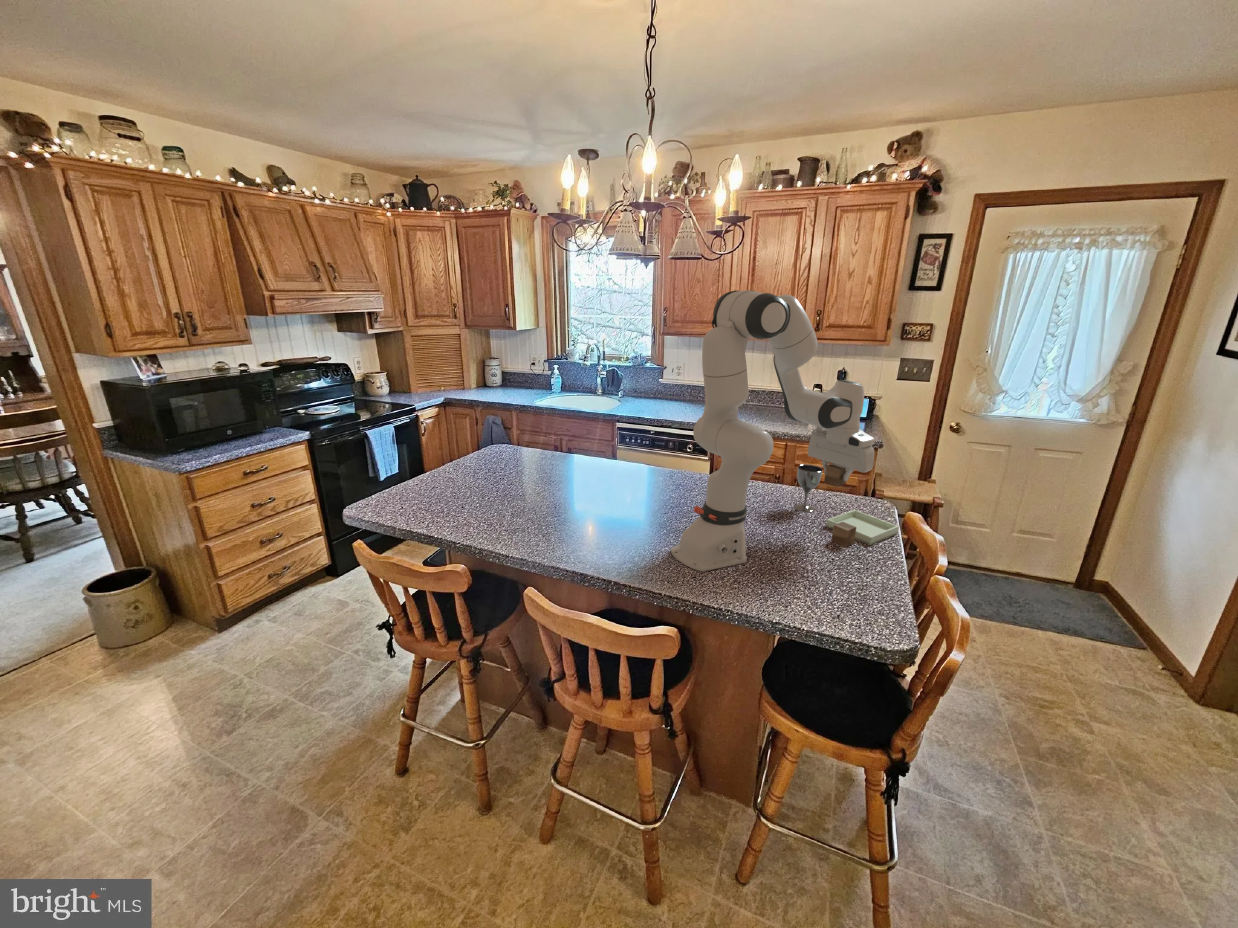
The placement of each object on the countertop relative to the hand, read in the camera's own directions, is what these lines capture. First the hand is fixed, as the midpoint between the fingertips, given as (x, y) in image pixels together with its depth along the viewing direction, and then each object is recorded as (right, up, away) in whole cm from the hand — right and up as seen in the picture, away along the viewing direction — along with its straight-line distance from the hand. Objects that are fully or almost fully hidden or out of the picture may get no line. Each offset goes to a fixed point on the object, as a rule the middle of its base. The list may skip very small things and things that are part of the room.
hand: (835, 477), depth 153 cm
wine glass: (-1, -12, +22) cm, 25 cm away
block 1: (0, -2, +1) cm, 2 cm away
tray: (+11, -17, +6) cm, 21 cm away
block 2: (+1, -20, -2) cm, 20 cm away
